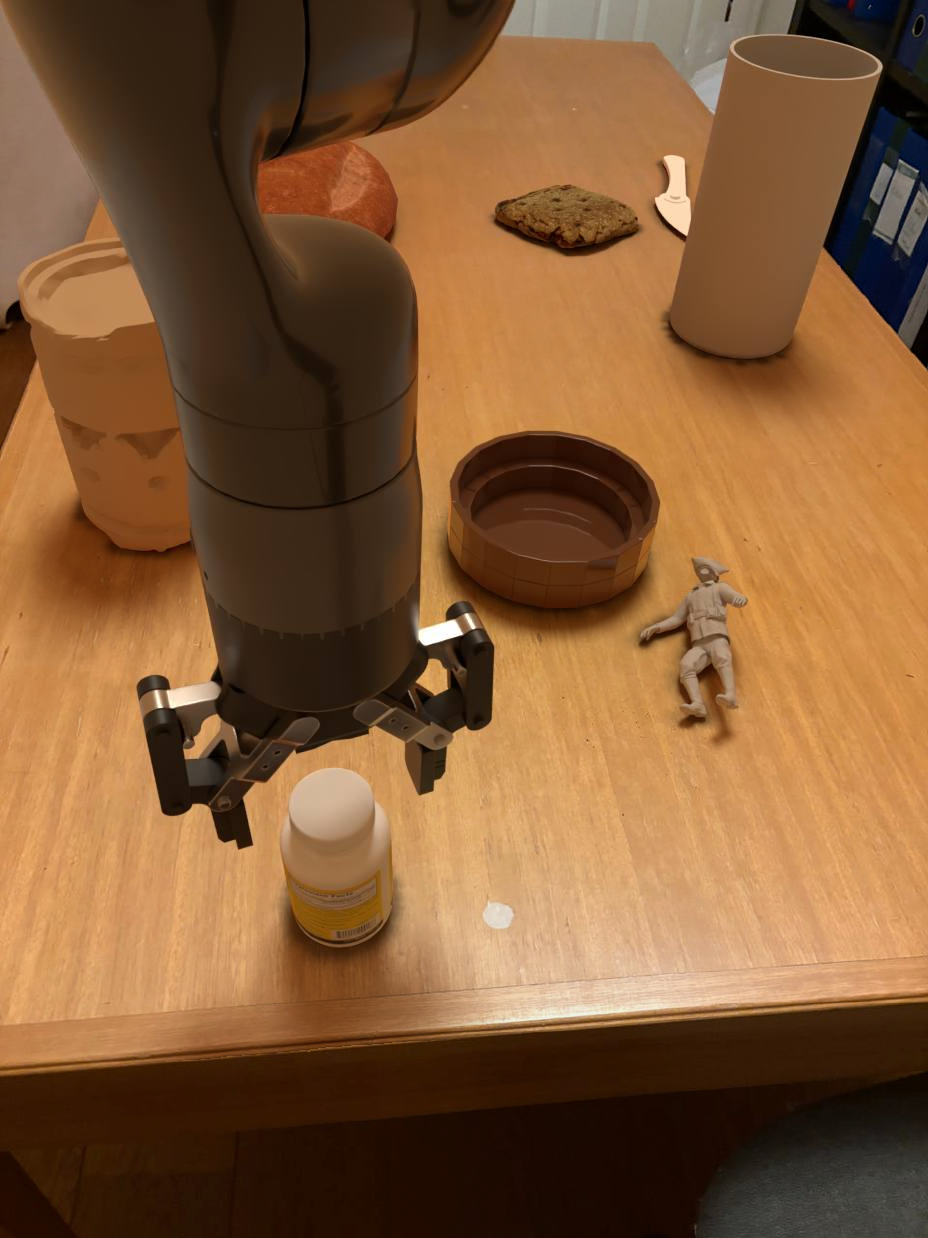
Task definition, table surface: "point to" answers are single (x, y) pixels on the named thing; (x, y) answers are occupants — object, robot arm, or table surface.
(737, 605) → the soldier figure
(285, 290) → the robot arm
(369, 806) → the supplement bottle
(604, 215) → the pastry
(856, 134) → the cylinder vase
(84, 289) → the container
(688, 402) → the table surface
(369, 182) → the bread
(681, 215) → the knife
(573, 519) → the bowl
